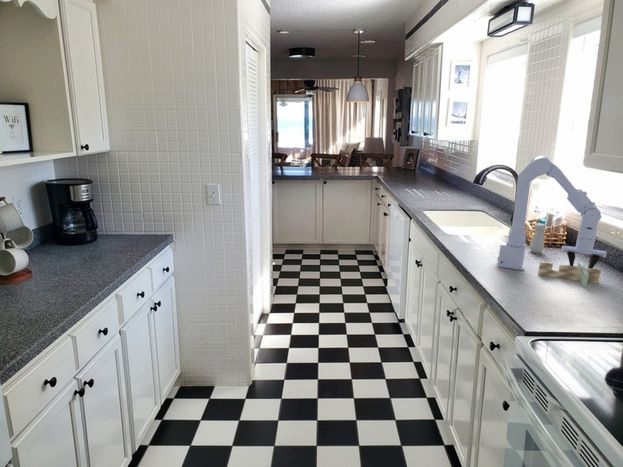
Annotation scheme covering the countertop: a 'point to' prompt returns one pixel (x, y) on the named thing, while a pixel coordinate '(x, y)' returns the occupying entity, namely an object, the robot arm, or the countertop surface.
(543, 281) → the countertop surface
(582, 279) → the green plate
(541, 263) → the maple slat
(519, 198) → the robot arm
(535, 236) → the salt shaker
